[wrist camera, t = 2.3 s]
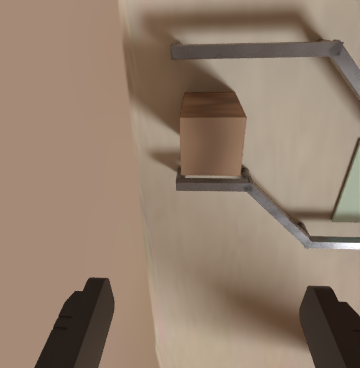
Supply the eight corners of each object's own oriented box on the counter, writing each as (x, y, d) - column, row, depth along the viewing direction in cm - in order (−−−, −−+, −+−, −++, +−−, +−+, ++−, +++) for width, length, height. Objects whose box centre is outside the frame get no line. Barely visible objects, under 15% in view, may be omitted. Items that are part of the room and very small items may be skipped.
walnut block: (234, 91, 27) (246, 117, 20) (231, 139, 29) (240, 175, 23) (184, 92, 27) (179, 117, 20) (185, 139, 30) (181, 175, 23)
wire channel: (553, 32, 22) (607, 34, 19) (429, 232, 34) (451, 252, 31) (173, 40, 25) (169, 44, 22) (179, 226, 36) (177, 245, 33)
